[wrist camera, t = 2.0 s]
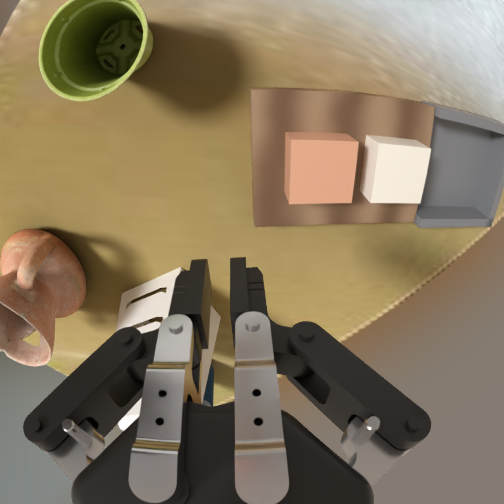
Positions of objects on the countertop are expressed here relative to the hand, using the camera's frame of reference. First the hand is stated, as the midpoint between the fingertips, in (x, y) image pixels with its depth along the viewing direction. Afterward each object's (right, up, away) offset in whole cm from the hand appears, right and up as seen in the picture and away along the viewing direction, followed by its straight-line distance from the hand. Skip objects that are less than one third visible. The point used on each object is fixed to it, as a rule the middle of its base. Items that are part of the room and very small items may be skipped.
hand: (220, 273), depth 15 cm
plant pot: (-11, +21, +8) cm, 25 cm away
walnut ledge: (+11, +12, +16) cm, 22 cm away
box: (+27, +12, +16) cm, 34 cm away
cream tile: (+16, +10, +14) cm, 23 cm away
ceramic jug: (-27, 0, +22) cm, 35 cm away
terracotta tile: (+8, +10, +13) cm, 18 cm away
